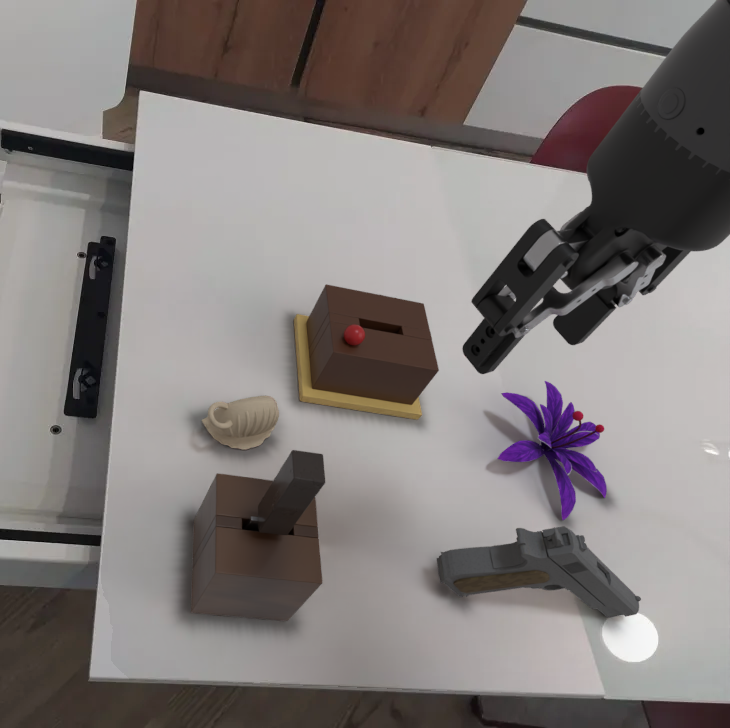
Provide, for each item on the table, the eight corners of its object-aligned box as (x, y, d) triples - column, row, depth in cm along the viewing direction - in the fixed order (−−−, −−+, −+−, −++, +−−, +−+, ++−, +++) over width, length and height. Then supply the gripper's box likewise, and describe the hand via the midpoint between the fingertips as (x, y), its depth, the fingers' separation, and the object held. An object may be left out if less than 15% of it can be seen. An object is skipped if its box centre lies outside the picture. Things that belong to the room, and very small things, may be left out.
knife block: (283, 530, 64) (314, 485, 58) (287, 621, 59) (323, 583, 53) (193, 519, 62) (216, 472, 56) (190, 613, 57) (215, 572, 51)
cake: (402, 339, 83) (439, 286, 77) (418, 420, 77) (459, 369, 70) (293, 319, 81) (321, 262, 74) (299, 401, 74) (331, 346, 67)
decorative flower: (521, 360, 82) (571, 331, 76) (617, 462, 82) (675, 441, 76) (465, 435, 74) (516, 409, 68) (570, 548, 74) (632, 532, 68)
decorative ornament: (281, 443, 70) (299, 411, 66) (199, 457, 66) (213, 425, 62) (266, 408, 72) (283, 375, 68) (185, 420, 68) (199, 386, 64)
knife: (257, 558, 62) (330, 454, 49) (258, 583, 61) (333, 483, 48) (220, 554, 61) (284, 448, 48) (220, 580, 60) (286, 477, 47)
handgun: (427, 549, 64) (564, 508, 58) (518, 613, 74) (642, 584, 68) (431, 580, 62) (573, 542, 56) (523, 641, 72) (651, 614, 66)
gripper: (696, 193, 29) (480, 425, 41) (854, 164, 36) (630, 369, 48) (568, 80, 32) (403, 324, 44) (735, 74, 39) (554, 286, 51)
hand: (522, 347), depth 46 cm, fingers open, 8 cm apart
